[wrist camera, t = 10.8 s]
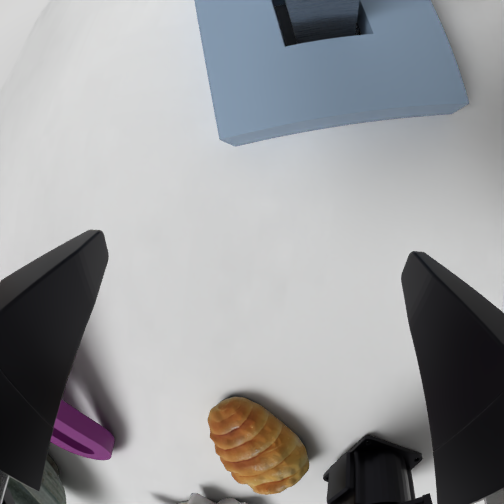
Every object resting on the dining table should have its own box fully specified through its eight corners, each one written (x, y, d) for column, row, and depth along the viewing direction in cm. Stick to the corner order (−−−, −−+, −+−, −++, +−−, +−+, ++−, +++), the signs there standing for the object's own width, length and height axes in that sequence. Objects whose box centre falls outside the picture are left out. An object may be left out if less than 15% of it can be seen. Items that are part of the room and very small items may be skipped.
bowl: (-14, 384, 35) (-53, 408, 26) (69, 442, 31) (25, 485, 21) (21, 463, 40) (-7, 487, 30) (102, 515, 35) (74, 550, 26)
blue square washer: (451, 114, 16) (469, 103, 13) (235, 146, 19) (219, 139, 16) (384, -49, 14) (387, -72, 11) (203, -18, 17) (187, -39, 14)
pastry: (194, 405, 24) (175, 433, 21) (261, 379, 22) (249, 410, 19) (254, 474, 25) (245, 503, 21) (320, 456, 23) (316, 488, 19)
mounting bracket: (142, 395, 33) (20, 291, 24) (128, 459, 26) (-22, 356, 17) (97, 406, 36) (-8, 320, 27) (82, 459, 29) (-41, 373, 20)
